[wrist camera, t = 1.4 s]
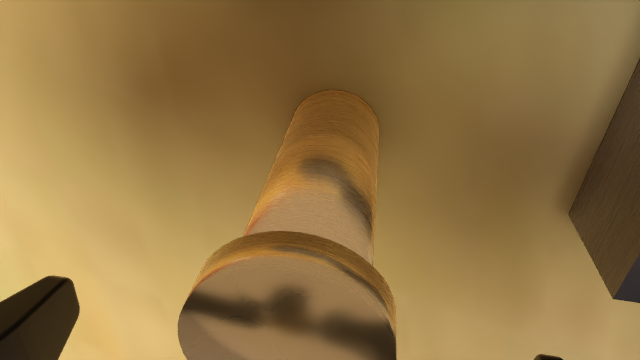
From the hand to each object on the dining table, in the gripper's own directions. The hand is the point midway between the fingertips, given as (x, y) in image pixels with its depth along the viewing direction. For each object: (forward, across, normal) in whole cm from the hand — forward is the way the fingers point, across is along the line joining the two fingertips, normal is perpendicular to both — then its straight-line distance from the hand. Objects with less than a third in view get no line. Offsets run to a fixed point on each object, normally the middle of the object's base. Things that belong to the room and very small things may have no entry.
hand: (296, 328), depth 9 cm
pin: (+8, 0, 0) cm, 8 cm away
